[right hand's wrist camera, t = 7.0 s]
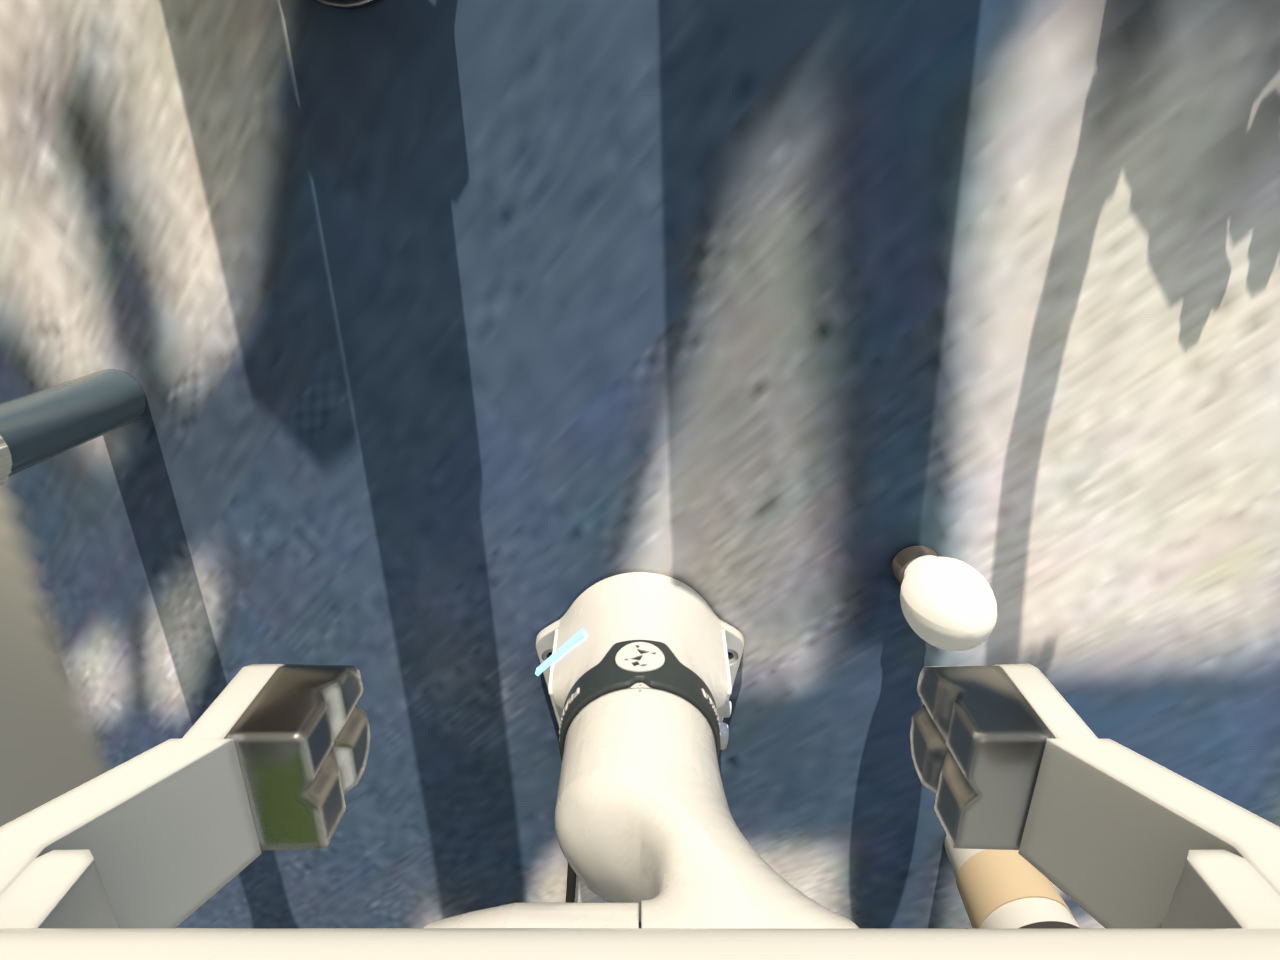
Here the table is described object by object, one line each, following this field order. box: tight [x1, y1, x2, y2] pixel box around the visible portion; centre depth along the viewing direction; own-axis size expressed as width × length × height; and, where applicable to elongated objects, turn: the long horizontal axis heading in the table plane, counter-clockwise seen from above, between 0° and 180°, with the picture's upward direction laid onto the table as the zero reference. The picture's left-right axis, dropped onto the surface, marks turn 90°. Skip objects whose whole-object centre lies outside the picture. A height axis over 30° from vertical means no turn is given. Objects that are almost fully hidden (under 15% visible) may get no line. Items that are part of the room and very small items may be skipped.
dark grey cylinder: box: [0, 369, 146, 477], centre depth 51 cm, size 4×4×15 cm
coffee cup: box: [944, 836, 1081, 929], centre depth 68 cm, size 9×9×15 cm
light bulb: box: [892, 546, 997, 651], centre depth 58 cm, size 7×7×11 cm
